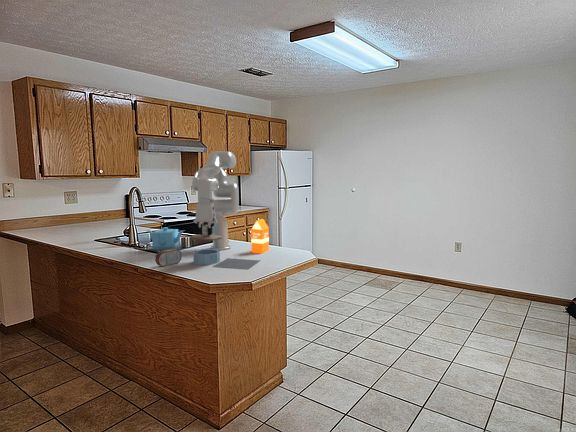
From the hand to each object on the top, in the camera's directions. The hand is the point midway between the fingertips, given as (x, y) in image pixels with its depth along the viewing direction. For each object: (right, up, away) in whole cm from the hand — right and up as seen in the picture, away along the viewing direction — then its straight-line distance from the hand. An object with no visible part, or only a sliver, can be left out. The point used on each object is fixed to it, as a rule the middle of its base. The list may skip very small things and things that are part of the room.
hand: (205, 234), depth 212 cm
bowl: (0, -16, +2) cm, 16 cm away
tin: (-19, -17, -3) cm, 25 cm away
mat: (+17, -16, -3) cm, 24 cm away
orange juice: (+28, -12, +31) cm, 43 cm away
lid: (0, -2, 0) cm, 2 cm away
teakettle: (-32, -12, +32) cm, 47 cm away
